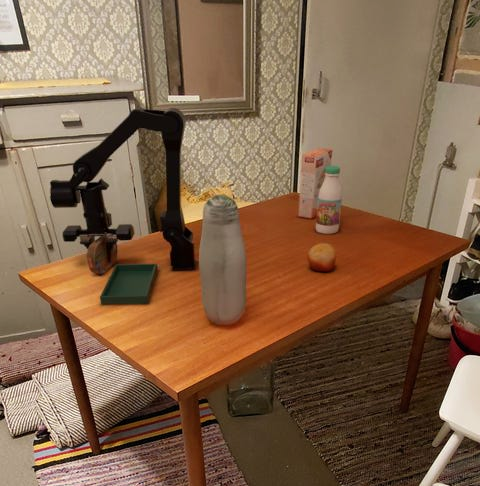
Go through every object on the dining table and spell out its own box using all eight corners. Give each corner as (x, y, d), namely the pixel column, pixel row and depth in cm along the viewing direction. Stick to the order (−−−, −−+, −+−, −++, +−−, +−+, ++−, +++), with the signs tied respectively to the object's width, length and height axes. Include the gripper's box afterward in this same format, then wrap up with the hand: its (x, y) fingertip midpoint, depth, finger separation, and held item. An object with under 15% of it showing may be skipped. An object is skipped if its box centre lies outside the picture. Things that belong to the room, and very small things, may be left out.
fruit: (340, 259, 141) (339, 240, 134) (332, 281, 139) (330, 263, 132) (313, 255, 144) (311, 236, 137) (305, 276, 141) (302, 258, 134)
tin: (98, 278, 136) (94, 249, 131) (87, 277, 136) (83, 247, 131) (119, 258, 148) (116, 230, 143) (109, 257, 148) (106, 229, 143)
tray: (157, 270, 140) (156, 263, 138) (147, 304, 123) (146, 295, 121) (117, 271, 140) (115, 264, 138) (101, 304, 123) (99, 296, 121)
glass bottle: (250, 328, 112) (250, 201, 95) (206, 333, 110) (198, 205, 94) (241, 309, 120) (240, 188, 103) (200, 314, 118) (191, 192, 101)
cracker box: (312, 219, 176) (317, 155, 163) (297, 217, 178) (300, 154, 166) (327, 209, 185) (333, 148, 173) (313, 207, 188) (317, 147, 175)
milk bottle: (315, 226, 169) (320, 164, 157) (338, 227, 168) (344, 164, 156) (315, 234, 163) (320, 169, 151) (338, 234, 162) (345, 170, 150)
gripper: (133, 197, 138) (140, 251, 148) (67, 199, 138) (79, 253, 148) (126, 209, 129) (135, 266, 139) (55, 210, 129) (69, 267, 139)
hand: (104, 262), depth 141 cm, fingers closed on tin, 3 cm apart
